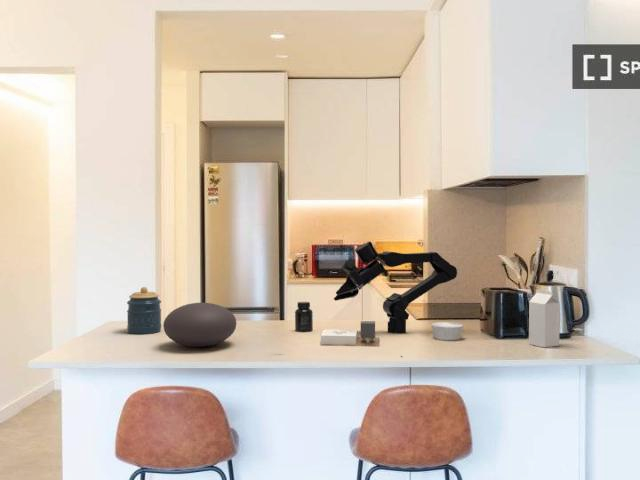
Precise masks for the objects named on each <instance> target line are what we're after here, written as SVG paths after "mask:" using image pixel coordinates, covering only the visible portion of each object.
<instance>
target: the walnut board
mask: <svg viewBox="0 0 640 480" xmlns="http://www.w3.org/2000/svg"><path fill="white" fill-rule="evenodd" d="M319 345H320V347H321V346H323V347H373V348H374V347H381V346H380V337H376V336H375V338H374V341H371V338H369V343H366V338H365V341H362V338H361V336H360V337H359V336H357V342H356V345H333V344H321V343H320V344H319Z"/></svg>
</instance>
